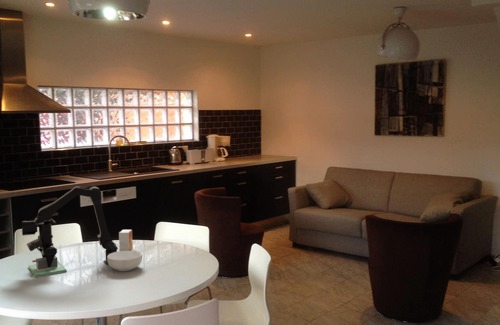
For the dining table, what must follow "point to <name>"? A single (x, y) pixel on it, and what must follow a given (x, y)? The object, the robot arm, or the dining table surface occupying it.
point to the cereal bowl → (124, 260)
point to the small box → (125, 240)
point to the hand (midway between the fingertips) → (47, 264)
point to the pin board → (47, 270)
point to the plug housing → (45, 263)
